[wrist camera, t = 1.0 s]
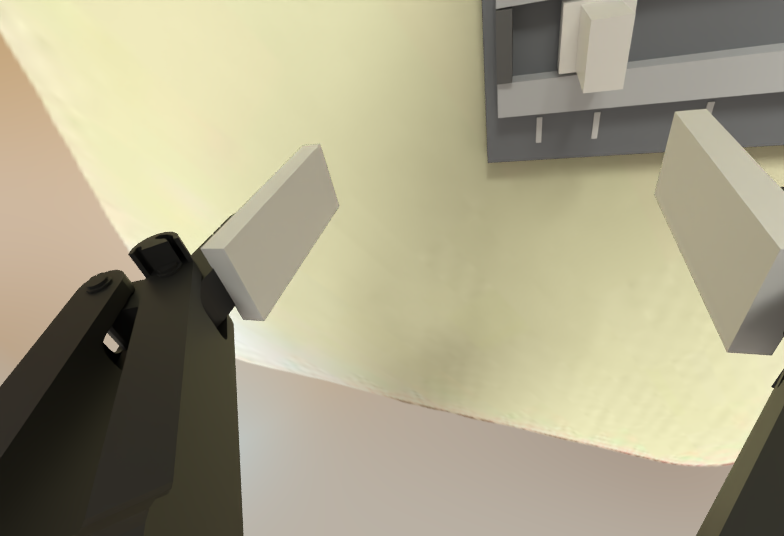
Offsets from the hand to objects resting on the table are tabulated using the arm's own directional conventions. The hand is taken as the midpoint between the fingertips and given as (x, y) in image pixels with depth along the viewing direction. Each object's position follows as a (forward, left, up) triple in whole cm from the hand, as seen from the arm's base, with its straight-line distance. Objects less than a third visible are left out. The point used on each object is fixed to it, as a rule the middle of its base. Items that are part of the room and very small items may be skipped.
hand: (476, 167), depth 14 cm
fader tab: (0, +6, -19) cm, 20 cm away
